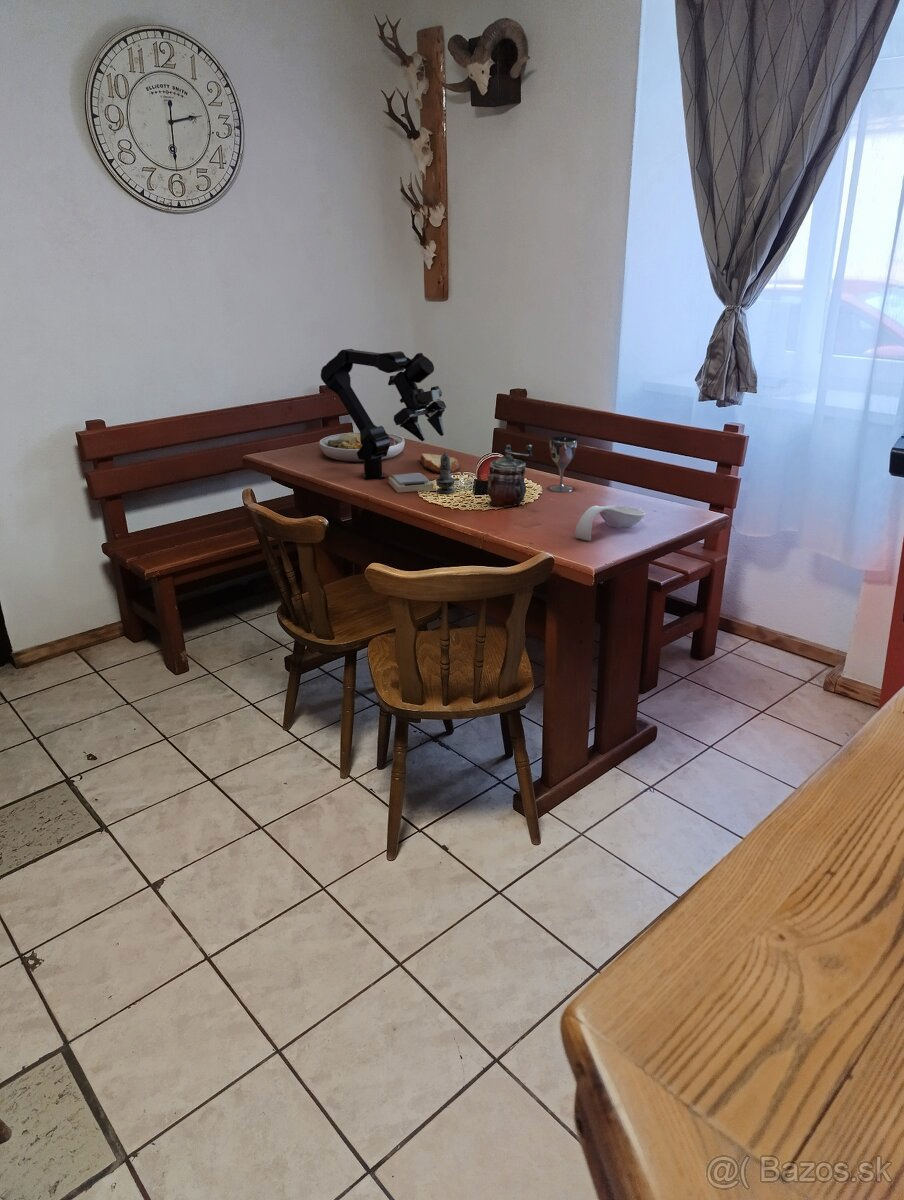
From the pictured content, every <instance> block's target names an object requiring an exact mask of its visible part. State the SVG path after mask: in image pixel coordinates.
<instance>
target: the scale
mask: <svg viewBox="0 0 904 1200" xmlns="http://www.w3.org/2000/svg"><path fill="white" fill-rule="evenodd" d="M388 483H389V485H390V486H391V487H392V488H393V489H394V490H395V492H396V493H398V494H399V493H407V492H408V493H411V492H423V491H433V490H434V484H433V482H432V481H430V480H429V478H427V477H426V476H425V475H424V474H422V473H421V472H411V473H400V474H391V476H389V477H388Z"/></svg>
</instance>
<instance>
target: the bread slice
mask: <svg viewBox="0 0 904 1200" xmlns="http://www.w3.org/2000/svg"><path fill="white" fill-rule="evenodd" d="M442 455H443V454H442ZM442 455H441V454H436V453H434V454H433V453H421V455H420V464H421V465H422V466H423V467H424V468H425V469H427V470H429V471H431V472H434V473H437V474H440V468H439V467H440V466H441V456H442ZM450 466H451V468H450V474H453V473H455V471H457V470H458V469H459V468H460V465H459V461H458V459H457V458H455V457H450Z"/></svg>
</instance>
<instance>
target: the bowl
mask: <svg viewBox="0 0 904 1200" xmlns="http://www.w3.org/2000/svg"><path fill="white" fill-rule="evenodd" d="M386 433H387V434H388V435H389V437H388V438H389V440H390V447H389V450H388V452H387V456H384V457H382V461H383V460H388V459H391V458H394V457H396V456H398V455H399V454H400V453H401V452H402V451H403V450H404V448H405V443H406V441H405V440H406V439H405V438H404V437H403V436H400V435H398V434H394V433H390V432H389V433H388V432H386ZM318 442H319V449H320V451H321V452H322V454H324V455H325V456H326V457H328V458H330V459H333V460H335V461H343V462H352V463H355V462H356V463H361V462H362V463H364V460H361V459H358V456H357V452H358V450H359V449H360V448H361V447H362V444H361V441H360V431H356V432H345V433H338V434H332V435H328V436H326V437H322V438H321V439H320V440H319V441H318Z"/></svg>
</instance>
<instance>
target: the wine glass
mask: <svg viewBox="0 0 904 1200" xmlns="http://www.w3.org/2000/svg"><path fill="white" fill-rule="evenodd" d="M577 440H578V439H577V438H575V437H572V436H553V437H550V438H549V454H550V457H551V460H552V461H553V462H554V464H555V465H556V466H557V468H558V471H559V484H558V485H552V486H550V487H548V489H549V491H551V492H557V493H567V492H572V491H573V490H574V488H573V487H571V486H568V485H564V484H563V482H564V481H563V480H564V473H565V471H566V468H567V467H568V465H570V463H571V462H572V461H573V460H574V458H575V455H576V451H577V446H578V445H577V444H578V441H577Z"/></svg>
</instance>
